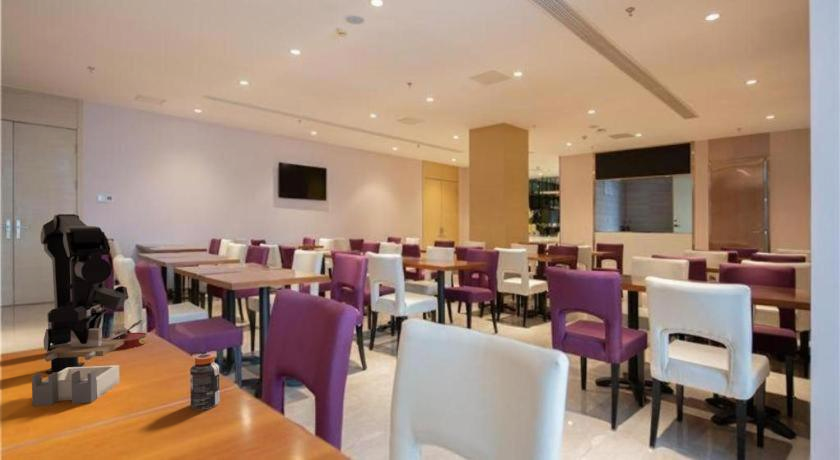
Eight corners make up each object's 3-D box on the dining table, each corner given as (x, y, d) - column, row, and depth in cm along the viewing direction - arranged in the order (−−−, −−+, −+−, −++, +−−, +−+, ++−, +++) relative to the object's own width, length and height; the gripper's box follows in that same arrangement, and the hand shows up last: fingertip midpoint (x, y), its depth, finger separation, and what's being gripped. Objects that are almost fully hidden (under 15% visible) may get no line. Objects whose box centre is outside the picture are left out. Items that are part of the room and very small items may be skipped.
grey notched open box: (67, 385, 111) (67, 358, 110) (119, 382, 113) (119, 356, 112) (32, 406, 99) (31, 376, 98) (91, 402, 100) (90, 373, 100)
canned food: (127, 363, 141) (112, 340, 136) (110, 355, 146) (96, 332, 141) (159, 340, 149) (146, 317, 144) (143, 333, 154) (130, 311, 149)
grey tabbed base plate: (71, 345, 111) (71, 325, 111) (124, 343, 113) (123, 323, 113) (37, 362, 99) (37, 339, 98) (97, 359, 101) (96, 337, 101)
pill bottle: (225, 401, 102) (225, 353, 101) (205, 412, 96) (204, 361, 96) (205, 397, 104) (204, 350, 103) (184, 408, 98) (183, 358, 98)
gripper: (101, 284, 99) (102, 352, 99) (139, 273, 117) (140, 331, 118) (45, 285, 97) (46, 355, 97) (92, 273, 115) (93, 332, 116)
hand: (86, 342), depth 107 cm, fingers closed on grey tabbed base plate
